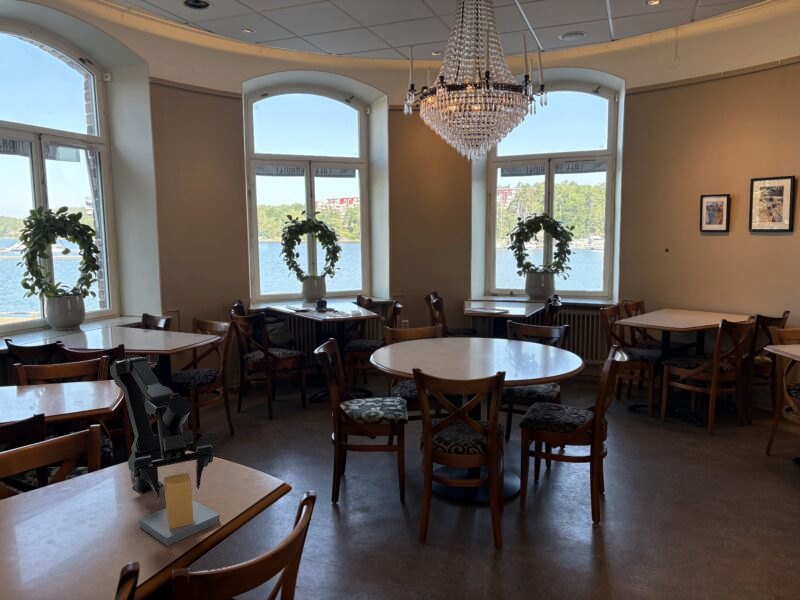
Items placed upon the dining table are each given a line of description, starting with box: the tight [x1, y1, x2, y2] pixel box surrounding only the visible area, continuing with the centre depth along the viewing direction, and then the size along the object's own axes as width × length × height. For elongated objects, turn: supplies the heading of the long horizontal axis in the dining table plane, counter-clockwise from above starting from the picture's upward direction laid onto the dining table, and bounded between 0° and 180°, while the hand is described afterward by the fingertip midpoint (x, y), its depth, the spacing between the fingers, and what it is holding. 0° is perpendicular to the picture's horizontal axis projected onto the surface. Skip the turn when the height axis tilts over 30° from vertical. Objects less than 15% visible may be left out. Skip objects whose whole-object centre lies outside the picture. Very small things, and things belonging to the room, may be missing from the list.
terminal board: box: [138, 499, 221, 547], centre depth 139 cm, size 14×14×5 cm
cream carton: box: [163, 472, 193, 529], centre depth 136 cm, size 6×6×11 cm
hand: (178, 492), depth 135 cm, fingers open, 9 cm apart
